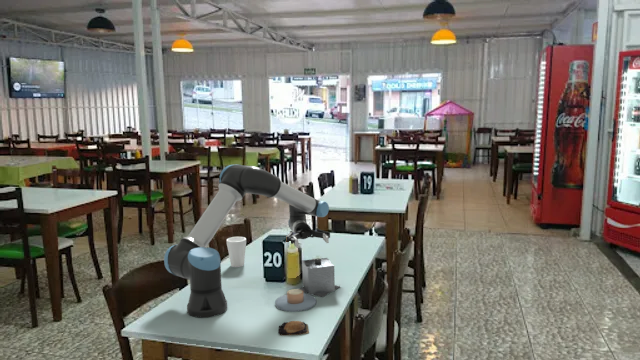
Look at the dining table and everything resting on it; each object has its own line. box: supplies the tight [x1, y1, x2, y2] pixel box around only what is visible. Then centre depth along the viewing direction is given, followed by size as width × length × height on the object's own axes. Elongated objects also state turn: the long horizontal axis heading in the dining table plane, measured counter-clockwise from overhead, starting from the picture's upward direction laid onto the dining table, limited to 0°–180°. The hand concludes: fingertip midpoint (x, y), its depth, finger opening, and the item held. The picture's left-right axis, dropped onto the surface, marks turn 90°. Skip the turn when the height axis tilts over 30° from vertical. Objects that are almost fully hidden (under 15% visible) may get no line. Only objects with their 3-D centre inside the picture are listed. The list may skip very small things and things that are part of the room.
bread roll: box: [277, 320, 310, 337], centre depth 176 cm, size 11×8×4 cm
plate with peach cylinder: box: [274, 288, 317, 313], centre depth 199 cm, size 16×16×5 cm
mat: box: [299, 285, 341, 298], centre depth 214 cm, size 13×13×1 cm
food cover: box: [301, 257, 336, 295], centre depth 213 cm, size 11×11×13 cm
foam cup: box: [226, 236, 247, 268], centre depth 246 cm, size 10×9×13 cm
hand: (312, 241), depth 221 cm, fingers open, 13 cm apart
